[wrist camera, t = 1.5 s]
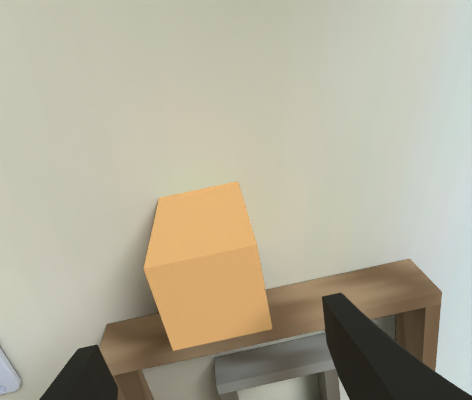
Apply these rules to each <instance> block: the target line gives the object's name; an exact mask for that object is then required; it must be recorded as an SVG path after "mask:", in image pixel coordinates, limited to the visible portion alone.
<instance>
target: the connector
mask: <svg viewBox="0 0 472 400" xmlns="http://www.w3.org/2000/svg"><path fill="white" fill-rule="evenodd" d="M144 272H145V274H146V277H147V280H148V283H149V285H150V288H151V291H152V294H153V297H154V299H155V302H156V305H157V308H158V310H159V313H160V316H161V319H162V322H163V324H164V327H165V330H166V333H167V335H168V338H169V341H170V344H171V347H172V349H173V351H175V350H179V349H184V348H188V347H193V346H198V345H202V344H207V343H211V342H216V341H220V340H225V339H230V338H234V337H239V336H243V335H248V334H252V333H257V332H262V331H266V330H271V329H272V323H271V318H270V313H269V307H268V302H267V296H266V291H265V286H264V280H263V275H262V269H261V264H260V259H259V253H258V248H257V243H256V240H255V237H254V233H253V230H252V227H251V223H250V220H249V216H248V213H247V210H246V206H245V203H244V200H243V196H242V193H241V190H240V186H239V183H238V182H233V183H228V184H223V185H219V186H214V187H209V188H204V189H200V190H195V191H190V192H185V193H180V194H176V195H171V196H166V197H161V198H159V201H158V206H157V210H156V215H155V219H154V224H153V228H152V233H151V237H150V242H149V246H148V251H147V255H146V260H145V264H144Z"/></svg>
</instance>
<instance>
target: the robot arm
mask: <svg viewBox="0 0 472 400" xmlns="http://www.w3.org/2000/svg"><path fill="white" fill-rule="evenodd" d="M322 303H323V313H324V323H325V333H326V343H327V346H328V349H329V352H330V354H331V357H332V360H333V363H334V366H335V368H336V371H337V374H338V376H339V378H340V380H341V382H342V385H343V387H344V389H345V391H346V393H347V395H348V397H349V399H350V400H472V396H471V395H469V394H468V393H466V392H465V391H463V390H462V389H460V388H458V387H457V386H455V385H454V384H452V383H451V382H449V381H448V380H446V379H445V378H443V377H442V376H441V375H439V374H438V373H436V372H435V371H433V370H432V369H431V368H429V367H428V366H427V365H425V364H424V363H422V362H421V361H420V360H419V359H417V358H416V357H415V356H413V355H412V354H411V353H409V352H408V351H407V350H406V349H404V348H403V347H402V346H401V345H399V344H398V343H397V342H396V341H394V340H393V339H392V338H391V337H390V336H389V335H387V334H386V333H385V332H384V331H383V330H381V329H380V328H379V327H378V326H377V325H376V324H375V323H373V322H372V321H371V320H370V319H369V318H368V317H367V316H366V315H365V314H364V313H362V312H361V311H360V310H359V309H358V308H357V307H356V306H355V305H354V304H353V303H352V302H351V301H350V300H349V299H348V298H347V297H346V296H345V295H344V294H342V293H336V294H331V295H327V296H322ZM20 385H21V379H20V378H19V376H18V375H17V373H16V372H15V370H14V369H13V367H12V365H11V364H10V362H9V361H8V359H7V358H6V356H5V355H4V353H3V352H2V350H1V348H0V395H1V394H5V393H10V392H14V391H17V390H18V389H19V387H20ZM117 398H118V386H117V384H116V382H115V380H114V378H113V376H112V374H111V372H110V370H109V368H108V366H107V364H106V362H105V360H104V357H103V355H102V353H101V351H100V349H99V347H98V345H93V346H89V347H84V348H79V349H78V350H77V351H76V352H75V353H74V355H73V356H72V357H71V359H70V360H69V361H68V363H67V364H66V365H65V367H64V368H63V369H62V371H61V372H60V373H59V375H58V376H57V377H56V379H55V380H54V381H53V383H52V384H51V385H50V387H49V388H48V389H47V391H46V392H45V393H44V394H43V396H42V397H41V398H40V400H117Z"/></svg>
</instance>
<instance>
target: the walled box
mask: <svg viewBox="0 0 472 400" xmlns="http://www.w3.org/2000/svg"><path fill="white" fill-rule="evenodd" d="M265 291H266V296H267V302H268V307H269V313H270V318H271V323H272V329H271V330H266V331H262V332H257V333H252V334H248V335H243V336H239V337H234V338H230V339H225V340H220V341H216V342H211V343H207V344H202V345H198V346H193V347H188V348H184V349H179V350H175V351H173V349H172V347H171V344H170V341H169V338H168V335H167V333H166V330H165V327H164V324H163V322H162V319H161V316H160V313H157V314H152V315H148V316H143V317H138V318H134V319H129V320H125V321H120V322H115V323H111V324H107V325H106V329H105V332H104V335H103V338H102V342H101V345H100V348H99V349H100V351H101V353H102V355H103V357H104V360H105V362H106V364H107V366H108V368H109V370H110V372H111V374H112V376H113V378H114V380H115V382H116V384H117V386H118V398H117V400H154V399H153V396H152V394H151V392H150V389H149V387H148V385H147V382H146V380H145V378H144V375H143V373H142V371H141V369H146V368H151V367H155V366H160V365H164V364H169V363H173V362H178V361H183V360H187V359H192V358H196V357H201V356H205V355H210V354H215V353H219V352H224V351H228V350H233V349H237V348H242V347H246V346H251V345H256V344H260V343H265V342H269V341H274V340H278V339H283V338H288V337H292V336H297V335H301V334H306V333H310V332H315V331H320V330H324V329H325V323H324V313H323V303H322V296H327V295H331V294H336V293H342V294H344V295H345V296H346V297H347V298H348V299H349V300H350V301H351V302H352V303H353V304H354V305H355V306H356V307H357V308H358V309H359V310H360V311H361V312H362V313H364V314H365V315H366V316H367V317H368V318H369V319H374V318H379V317H384V316H388V315H393V314H396V333H395V341H396V342H397V343H398V344H399V345H401V346H402V347H403V348H404V349H406V350H407V351H408V352H409V353H411V354H412V355H413V356H415V357H416V358H417V359H419V360H420V361H421V362H422V363H424V364H425V365H427V366H428V367H429V368H431V369H432V370H433V371H435V367H436V355H437V343H438V332H439V320H440V308H441V296H442V292H441V291H440V290H439V288H438V287H437V286H436V285H435V284H434V283H433V282H432V281H431V280H430V279H429V278H428V277H427V276H426V275H425V274H424V273H423V272H422V271H421V270H420V269H419V268H418V267H417V266H416V265H415V264H414V263H413V262H412V261H411V260H410V259H407V260H402V261H397V262H393V263H388V264H383V265H379V266H374V267H370V268H365V269H360V270H356V271H351V272H346V273H342V274H337V275H333V276H328V277H323V278H319V279H314V280H309V281H305V282H300V283H296V284H291V285H286V286H282V287H277V288H272V289H268V290H265ZM214 361H215V377H216V387H217V390H218V394H219V397H220V400H239V398H238V395H237V390H242V389H246V388H251V387H255V386H260V385H264V384H269V383H274V382H278V381H283V380H287V379H292V378H296V377H301V376H305V375H310V374H314V373H318V380H319V389H320V397H321V400H340V392H339V380H338V374H337V371H336V368H335V366H334V363H333V360H332V357H331V354H330V352H329V349H328V346H327V343H326V333H324V334H320V335H315V336H311V337H306V338H301V339H297V340H292V341H288V342H283V343H279V344H274V345H269V346H265V347H260V348H256V349H251V350H247V351H242V352H238V353H233V354H228V355H224V356H219V357H215V358H214Z"/></svg>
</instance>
